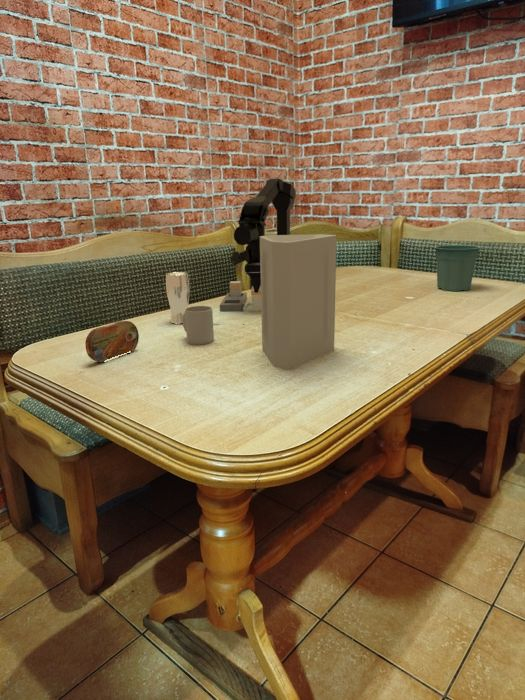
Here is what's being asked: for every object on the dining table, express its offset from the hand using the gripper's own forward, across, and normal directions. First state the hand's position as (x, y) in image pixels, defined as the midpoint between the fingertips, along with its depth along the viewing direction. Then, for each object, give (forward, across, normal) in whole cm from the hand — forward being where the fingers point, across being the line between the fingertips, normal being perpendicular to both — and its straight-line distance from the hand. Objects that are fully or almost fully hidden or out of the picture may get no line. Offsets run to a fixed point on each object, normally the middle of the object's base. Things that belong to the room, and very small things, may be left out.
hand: (257, 289), depth 167 cm
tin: (+7, +49, -32) cm, 59 cm away
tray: (+7, 0, 0) cm, 7 cm away
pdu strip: (+7, -5, -8) cm, 12 cm away
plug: (+6, 0, 0) cm, 6 cm away
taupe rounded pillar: (+7, +47, +11) cm, 49 cm away
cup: (+7, +35, -14) cm, 38 cm away
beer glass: (+7, +15, -23) cm, 28 cm away
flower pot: (+7, -34, +74) cm, 82 cm away
